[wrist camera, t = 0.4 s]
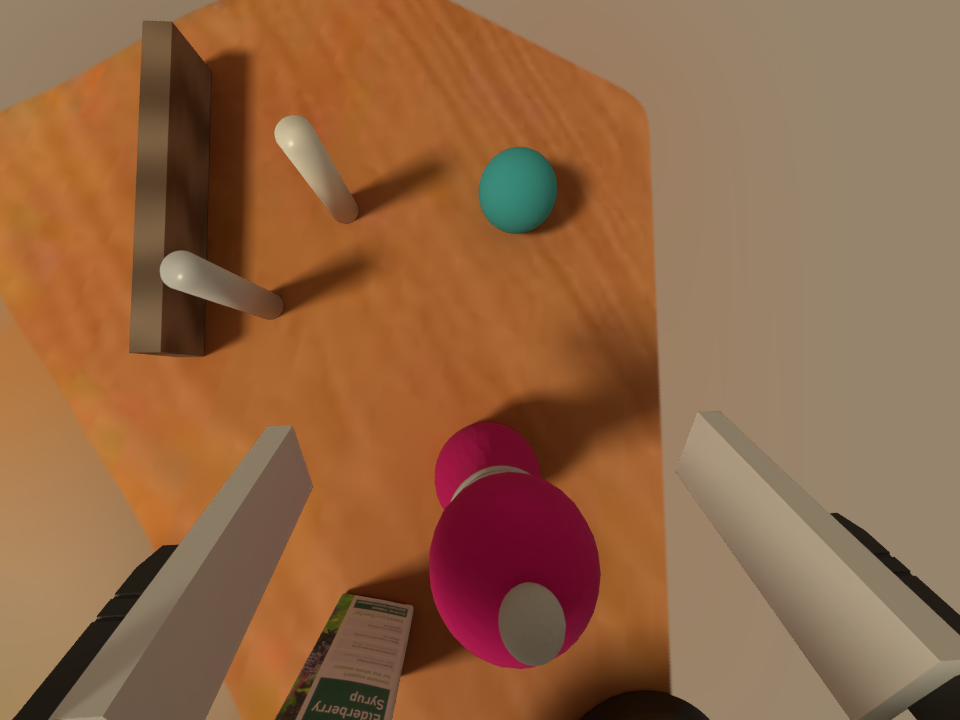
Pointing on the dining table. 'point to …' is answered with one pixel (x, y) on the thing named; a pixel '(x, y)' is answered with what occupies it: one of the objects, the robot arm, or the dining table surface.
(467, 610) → the pepper mill
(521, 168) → the ball
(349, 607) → the syrup box
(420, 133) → the dining table surface
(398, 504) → the dining table surface
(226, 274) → the grey pin
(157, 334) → the back wall
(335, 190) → the ivory pin
